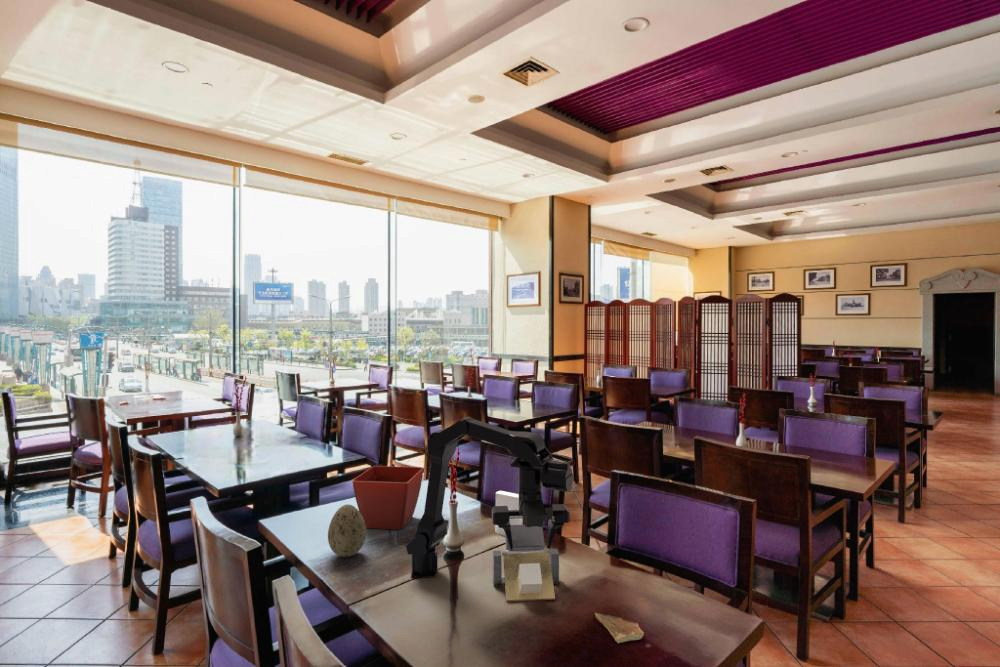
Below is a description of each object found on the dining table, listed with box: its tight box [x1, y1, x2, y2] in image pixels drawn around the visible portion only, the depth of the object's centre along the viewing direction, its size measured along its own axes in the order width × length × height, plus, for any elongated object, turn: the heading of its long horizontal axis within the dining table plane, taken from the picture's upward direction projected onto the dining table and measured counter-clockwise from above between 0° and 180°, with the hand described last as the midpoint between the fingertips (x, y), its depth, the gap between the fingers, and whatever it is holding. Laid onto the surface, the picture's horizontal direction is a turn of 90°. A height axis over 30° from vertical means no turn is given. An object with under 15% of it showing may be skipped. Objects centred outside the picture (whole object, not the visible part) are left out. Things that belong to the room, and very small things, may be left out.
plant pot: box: [351, 465, 424, 531], centre depth 177 cm, size 19×19×17 cm
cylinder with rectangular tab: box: [494, 490, 523, 536], centre depth 171 cm, size 9×9×12 cm
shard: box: [594, 611, 645, 644], centre depth 116 cm, size 11×8×2 cm
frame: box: [492, 548, 560, 588], centre depth 136 cm, size 17×3×8 cm, turn 95°
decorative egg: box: [327, 503, 367, 558], centre depth 152 cm, size 11×11×15 cm
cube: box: [518, 563, 542, 593], centre depth 128 cm, size 5×5×5 cm
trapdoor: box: [501, 524, 556, 603], centre depth 134 cm, size 12×19×3 cm
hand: (530, 548), depth 128 cm, fingers open, 9 cm apart
